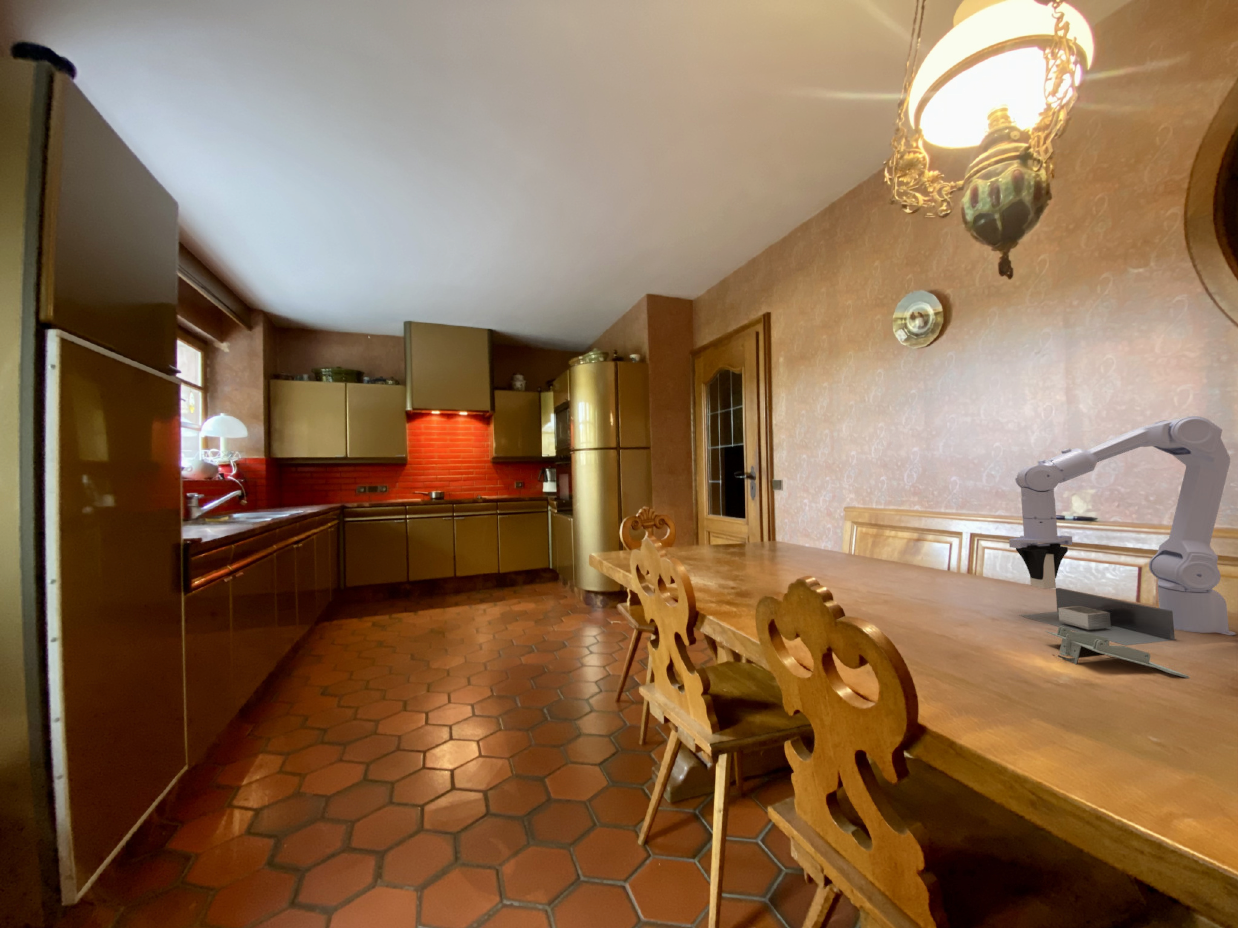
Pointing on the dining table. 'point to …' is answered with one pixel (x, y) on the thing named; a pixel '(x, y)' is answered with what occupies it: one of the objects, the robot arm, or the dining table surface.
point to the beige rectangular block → (1046, 574)
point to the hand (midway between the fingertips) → (1043, 578)
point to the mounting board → (1099, 630)
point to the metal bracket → (1102, 649)
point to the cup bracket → (1112, 614)
